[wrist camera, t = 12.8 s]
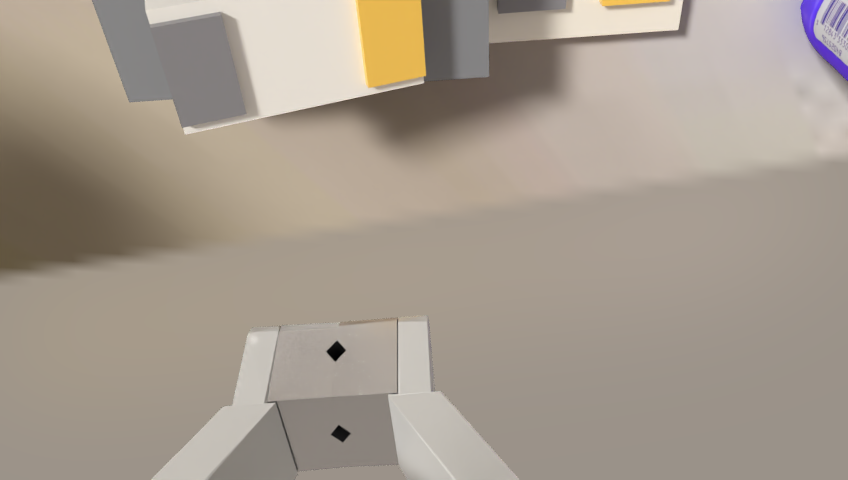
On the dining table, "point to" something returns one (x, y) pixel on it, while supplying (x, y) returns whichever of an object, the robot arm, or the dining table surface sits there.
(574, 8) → the switch unit
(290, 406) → the robot arm
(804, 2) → the bottle
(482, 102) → the dining table surface
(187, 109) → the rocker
